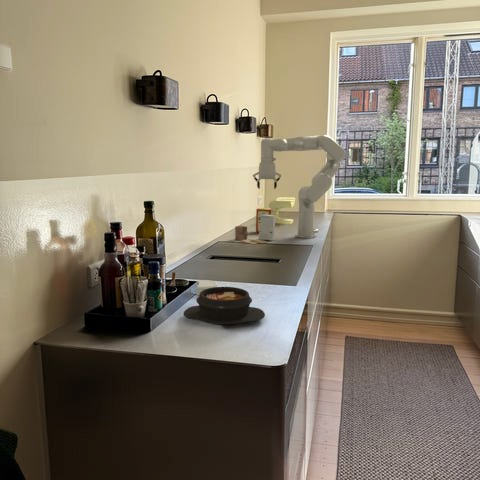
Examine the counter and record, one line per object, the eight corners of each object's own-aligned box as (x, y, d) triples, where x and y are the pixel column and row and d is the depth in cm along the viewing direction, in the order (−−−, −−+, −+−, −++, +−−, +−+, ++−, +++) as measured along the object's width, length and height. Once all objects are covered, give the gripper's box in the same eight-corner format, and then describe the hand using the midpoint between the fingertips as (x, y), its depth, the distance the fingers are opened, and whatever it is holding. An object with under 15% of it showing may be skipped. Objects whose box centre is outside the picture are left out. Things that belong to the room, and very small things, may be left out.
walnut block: (240, 238, 282) (240, 225, 280) (247, 239, 278) (247, 226, 277) (235, 239, 278) (235, 226, 276) (241, 240, 275) (241, 227, 273)
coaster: (199, 297, 164) (199, 288, 163) (185, 291, 172) (185, 282, 171) (222, 293, 170) (222, 284, 169) (208, 287, 178) (208, 278, 177)
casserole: (177, 328, 134) (177, 300, 133) (189, 308, 152) (189, 283, 151) (264, 332, 132) (264, 303, 131) (265, 310, 151) (266, 285, 149)
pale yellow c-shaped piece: (274, 219, 370) (275, 197, 367) (294, 220, 366) (295, 197, 363) (268, 224, 341) (268, 200, 338) (289, 225, 338) (290, 201, 335)
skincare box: (258, 239, 276) (259, 214, 274) (261, 238, 282) (262, 214, 280) (272, 240, 274) (273, 215, 272) (274, 239, 280) (275, 215, 278)
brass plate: (255, 239, 280) (255, 238, 280) (268, 242, 271) (268, 241, 271) (239, 241, 273) (239, 240, 273) (252, 244, 264) (252, 243, 264)
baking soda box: (272, 232, 307) (272, 208, 304) (270, 233, 301) (270, 209, 298) (258, 231, 310) (258, 207, 307) (256, 232, 303) (256, 208, 301)
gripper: (281, 160, 280) (281, 188, 283) (253, 160, 282) (253, 188, 285) (281, 160, 273) (280, 189, 276) (252, 160, 275) (252, 189, 278)
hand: (266, 188), depth 281 cm, fingers open, 9 cm apart
